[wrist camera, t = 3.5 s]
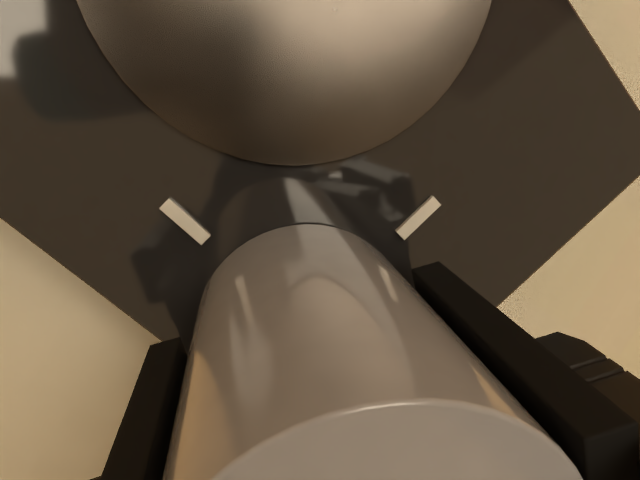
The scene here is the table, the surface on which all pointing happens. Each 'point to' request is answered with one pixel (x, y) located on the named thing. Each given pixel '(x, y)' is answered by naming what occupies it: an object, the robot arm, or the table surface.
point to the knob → (340, 377)
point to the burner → (288, 68)
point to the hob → (310, 166)
